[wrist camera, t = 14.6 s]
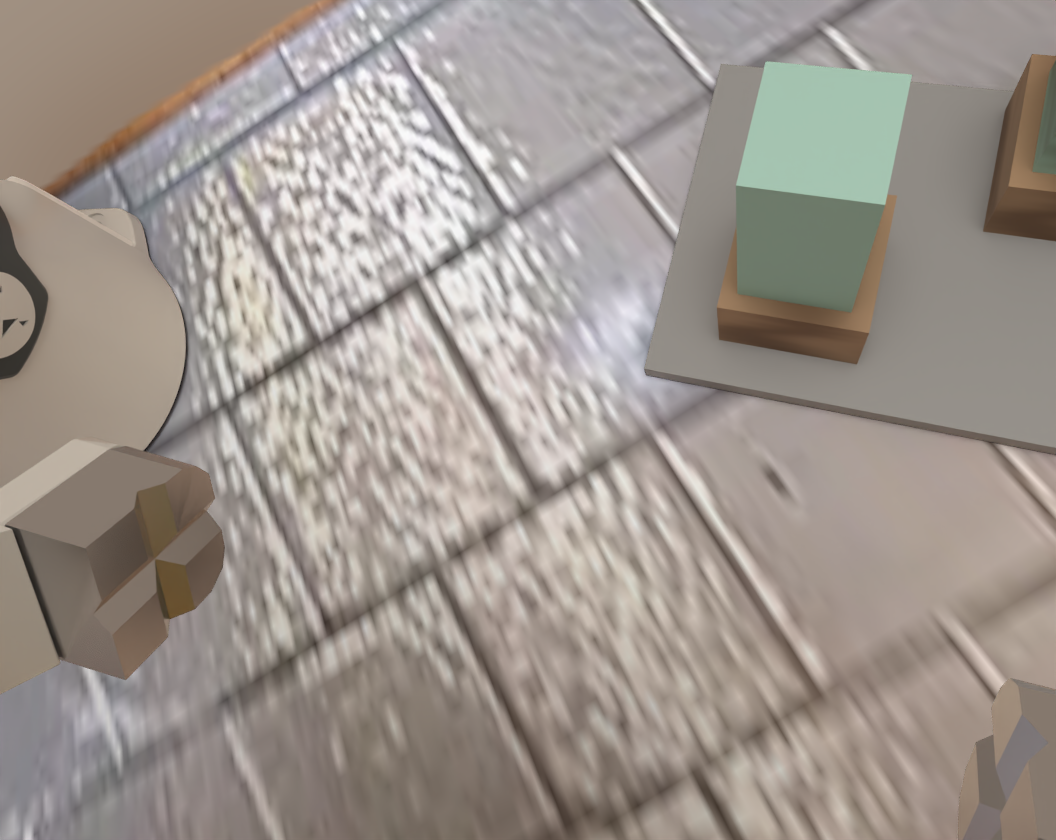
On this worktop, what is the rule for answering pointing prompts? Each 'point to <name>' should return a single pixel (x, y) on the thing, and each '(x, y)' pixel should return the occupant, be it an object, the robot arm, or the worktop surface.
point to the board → (887, 285)
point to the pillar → (815, 181)
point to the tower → (1027, 158)
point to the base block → (804, 311)
